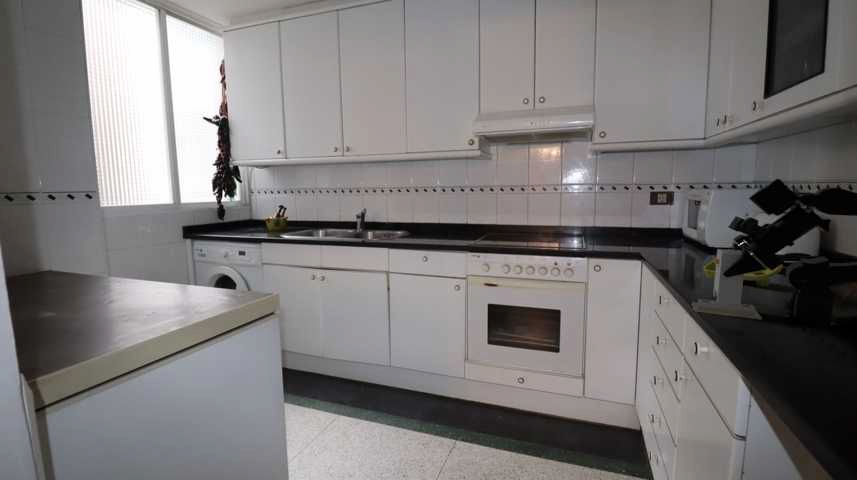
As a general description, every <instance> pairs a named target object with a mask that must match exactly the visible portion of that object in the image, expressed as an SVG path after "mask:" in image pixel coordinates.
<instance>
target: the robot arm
mask: <svg viewBox="0 0 857 480" xmlns="http://www.w3.org/2000/svg"><path fill="white" fill-rule="evenodd" d="M748 199H749V200H750V201H751V202H752V203H753V204H754V205H756V206H757V207H758V208H759V209H760V210H762V211H763V212H764V213H765V214H766V215H767V216H771V215H773V214H774V215H775V216H776V217H778V216H780V215H781V214H783V213H785V214H783V215H782V216H780V217H779V218H777V219H776V220H774V221H773V222H772V223H764V224H763V225H759V220H758V219H756V218H754V217H751V216H749V217H747V218H746V219H745V218H742V217H739V216H737V215H736V216H734V218H733V220H732V221H731V222H730V224H729V225H728V226H727V228H729V229H730V230H732V231H735V232H737V233H738V232H740V233H741V234H738V235H737V236H736V237H734V238H733V239H732V240H733V242H732V246H733V247H732V250H740V251H741V252H742V253H741V258H739V259H738V260H737V261H736V262H735V263H734V264H733V265H732V266H731V267H730V268H729V269H727V270H726V271H725V272H724V273H723V275H724V276H725V277H732V276H737V275H741V274H746V273H751V272H756V271H761V270H767V269H766V268H765V267H768V268H769V269H770V270H774V269H775V268H777V267H779V266H780V265H782V258H780V257H779V256H778V255H777V254H778V253H779V252H780V251H782V250H783V249H785V248H786V247H789V248H791V247H792V246H794V245H796V243H795V241H798V239H800V238H802V237H803V236H805V235H806V234H808V233H809V232H811V231H812V230H814V229H815V228H817V229H818V230H820V231H821V232H830V230H831V229H830V225H831V224H830V223H831V221H832V219H830V218H826V219H825V218H824V219H823V218H822V217H821V216H819V214H817V213H816V212H819V213H822V214H825V215H829V216H830V215H831V216H849V217H850V216H852V217H854V216H855V217H857V192H855V191H852V190H848V189H846V188H845V189H844V188H840V187H823V188H820V189H818V190H816V191H815V192H814V193H807V194H804V193H800V194H798V195H797V194H796V192H794V191H793V190H791V188H789V186H787V185H786V184H785V182H783V181H782V180H781V179H780V178H776V179H774V180H772V182H770V183H768V184H767V185H766V186H764V187H761V188H760V189H759V190H757V191H756V192H755V193H753V194H752V195H750V196H749V197H748ZM797 203H799V205H798V204H797ZM800 205H803V206H806V207H812V208H813V209H814V211H813V210H812V209H810V210H805V209H804V208H803V207H801V206H800ZM791 208H792V209H791ZM789 209H790V210H789ZM788 210H789V211H788ZM786 211H788V212H786ZM815 211H816V212H815ZM785 276H786V278H787V281H788V283H789V284H790V285H791V286H792V287H793V288H795V289H796V291H794V292H792V297H791V298H790V302H789V309H788V310H789V311H788V315H784V316H783V318H784V319H787V320H790V321H792V322H795V323H799V324H802V325H804V326H807V327H811V328H821V327H824V328H825V327H837V326H838V323H837V322H833V321H832V319H833V312H834V305H835V304H834V303H835V297H836V296H837V292H836V291H834V289H833V288H832V287H834V286H837V285H842V284H844V283H845V284H846V283H855V282H857V261H853V262H843V263H841V262H839V263H838V262H837V263H835V262H830V260H829V259H828V258H827V257H825V256H817V257H814V258H799V261H795V262H792V263H790V264H789V265H788V266H787V268H786V270H785Z"/></svg>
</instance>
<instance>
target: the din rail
mask: <svg viewBox="0 0 857 480" xmlns="http://www.w3.org/2000/svg"><path fill="white" fill-rule="evenodd" d="M691 305H692V307H693V310H694V312H696V313H705V314H713V315H720V316H721V315H722V316H727V317H737V318H742V319H743V318H745V319H752V320H762V319H763V317H762V316H761V315H760V314H759V312H758V311H757V310H756V307H755V306H754V305H753V304H748V303H747V304H745V303H741V305H739V304H730V303H720V302H717V300H709V299H701V298H698V299H697V302H695V301H694V302H693V301H692V302H691Z"/></svg>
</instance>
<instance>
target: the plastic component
mask: <svg viewBox="0 0 857 480" xmlns="http://www.w3.org/2000/svg"><path fill="white" fill-rule="evenodd" d="M764 267H765V268H766V269H767V270H761V271H756V272H751V273H746V274H744V276H743V281H755V285H757V287H762V288H765V287H768V286H769V285H771V279H770V278H773V277H775V276H776V275H779V273H780V272H781V271H782V270H783V268H784V265H783V264H780V266H779V267H777V268H775V269H774V270H770V269H769V268H768V267H767V266H764ZM715 270H716V264H715V263H714V259H712V260H711V261H710V262H709V263H707V264H706V265H704V266H703V271H704V274H705V276H706V278H708V279H712V280H715Z"/></svg>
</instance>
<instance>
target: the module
mask: <svg viewBox="0 0 857 480" xmlns="http://www.w3.org/2000/svg"><path fill="white" fill-rule="evenodd" d="M741 253H742V252H741V251H740V250H733V249H726V248H725V249H724V248H723V249H721V248H717V251H716V257H714V259H713V260H714V263H715V264H716V270H715V279H714V283H713V293H712V296H713V297H716V301H717V302H720V303H730V304H739V305H741V304H742V295H743V284H744V280H743V276H744V274H741V275H737V276H732V277H725V276H724V275H723V273H724V272H725V271H726V270H727V269H729V268H730V267H731V266H732V265H733V264H734V263H735V262H736V261H737V260H738V259H739V258H741Z"/></svg>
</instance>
